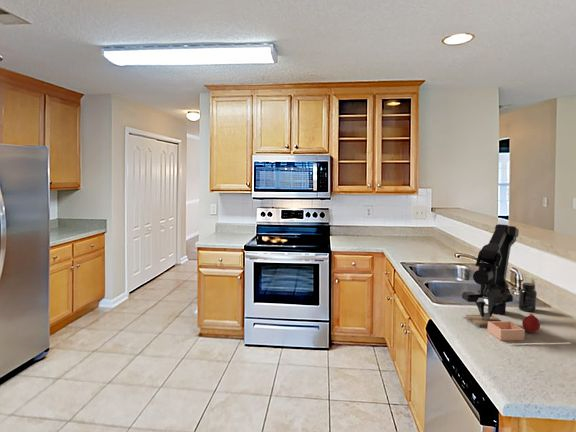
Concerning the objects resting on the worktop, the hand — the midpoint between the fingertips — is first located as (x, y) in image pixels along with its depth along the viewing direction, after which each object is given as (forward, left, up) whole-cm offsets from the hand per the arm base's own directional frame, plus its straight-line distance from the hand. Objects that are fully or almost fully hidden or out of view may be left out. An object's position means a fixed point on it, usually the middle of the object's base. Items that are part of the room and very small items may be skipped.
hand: (485, 316), depth 171 cm
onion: (+11, +12, -3) cm, 16 cm away
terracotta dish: (+14, 0, -3) cm, 14 cm away
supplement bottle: (-16, +28, -3) cm, 32 cm away
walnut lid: (0, 0, -2) cm, 2 cm away
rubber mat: (0, 0, -3) cm, 3 cm away
